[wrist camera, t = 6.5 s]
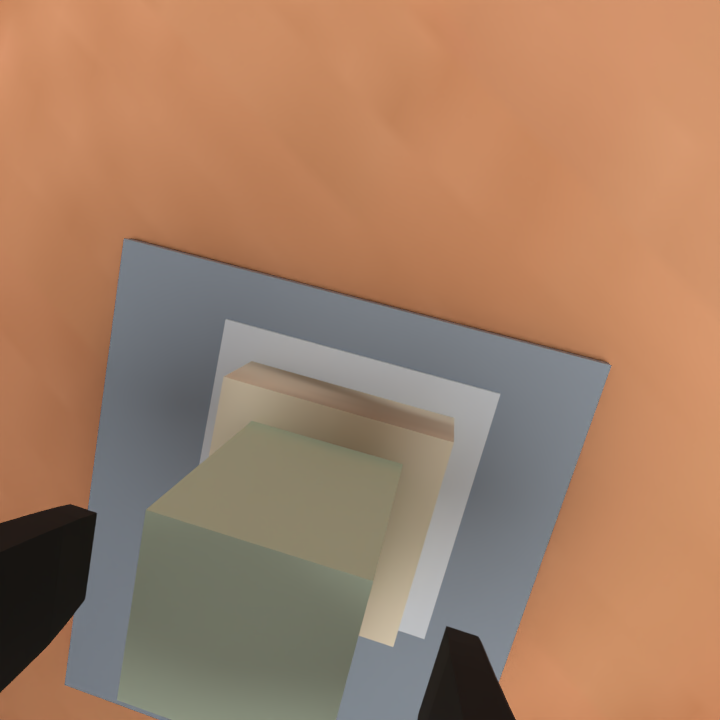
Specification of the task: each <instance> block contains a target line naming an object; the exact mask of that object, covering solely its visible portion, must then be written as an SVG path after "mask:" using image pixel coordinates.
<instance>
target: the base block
mask: <svg viewBox="0 0 720 720" xmlns="http://www.w3.org/2000/svg"><path fill="white" fill-rule="evenodd" d="M251 421H254V422H257V423H261V424H264V425H268V426H271V427H275V428H278V429H282V430H285V431H289V432H292V433H296V434H299V435H303V436H306V437H310V438H313V439H317V440H320V441H324V442H327V443H331V444H334V445H338V446H341V447H345V448H348V449H352V450H355V451H359V452H362V453H366V454H369V455H373V456H376V457H380V458H383V459H387V460H390V461H394V462H397V463H401V464H403V466H402V470H401V474H400V478H399V482H398V486H397V489H396V493H395V497H394V501H393V505H392V509H391V513H390V517H389V521H388V525H387V529H386V533H385V537H384V541H383V545H382V549H381V553H380V557H379V560H378V564H377V568H376V572H375V576H374V580H373V584H372V588H371V591H370V595H369V599H368V603H367V606H366V610H365V614H364V618H363V621H362V625H361V629H360V633H359V636H361V637H364V638H367V639H370V640H373V641H376V642H379V643H382V644H385V645H388V646H391V647H393V646H394V643H395V639H396V636H397V633H398V629H399V626H400V623H401V619H402V616H403V612H404V609H405V606H406V602H407V599H408V596H409V592H410V589H411V585H412V582H413V579H414V575H415V572H416V569H417V565H418V562H419V558H420V555H421V552H422V548H423V545H424V542H425V538H426V535H427V531H428V528H429V525H430V521H431V518H432V515H433V511H434V508H435V504H436V501H437V498H438V494H439V491H440V488H441V484H442V481H443V477H444V474H445V471H446V467H447V464H448V461H449V457H450V454H451V450H452V447H453V444H454V418H452V417H449V416H445V415H442V414H438V413H435V412H431V411H427V410H424V409H420V408H417V407H413V406H410V405H406V404H402V403H399V402H395V401H392V400H388V399H385V398H381V397H377V396H374V395H370V394H367V393H363V392H360V391H356V390H353V389H349V388H345V387H342V386H338V385H335V384H331V383H328V382H324V381H320V380H317V379H313V378H310V377H306V376H303V375H299V374H296V373H292V372H288V371H285V370H281V369H278V368H274V367H271V366H267V365H263V364H260V363H256V362H253V361H251V362H249V363H247V364H246V365H244V366H242V367H240V368H238V369H237V370H235V371H233V372H231V373H229V374H227V375H226V376H224V377H223V382H222V387H221V393H220V398H219V404H218V409H217V414H216V420H215V425H214V431H213V436H212V441H211V447H210V452H209V456H211V455H212V454H213V453H214V452H215V451H217V450H218V449H219V448H220V447H221V446H222V445H224V444H225V443H226V442H227V441H228V440H230V439H231V438H232V437H233V436H234V435H236V434H237V433H238V432H239V431H240V430H242V429H243V428H244V427H245V426H246V425H248V424H249V423H250V422H251Z"/></svg>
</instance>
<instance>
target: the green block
mask: <svg viewBox="0 0 720 720" xmlns="http://www.w3.org/2000/svg"><path fill="white" fill-rule="evenodd" d="M402 466H403V464H401V463H397V462H394V461H390V460H387V459H383V458H380V457H376V456H373V455H369V454H366V453H362V452H359V451H355V450H352V449H348V448H345V447H341V446H338V445H334V444H331V443H327V442H324V441H320V440H317V439H313V438H310V437H306V436H303V435H299V434H296V433H292V432H289V431H285V430H282V429H278V428H275V427H271V426H268V425H264V424H261V423H257V422H254V421H251V422H250V423H249V424H248V425H246V426H245V427H244V428H243V429H242V430H240V431H239V432H238V433H237V434H236V435H234V436H233V437H232V438H231V439H230V440H228V441H227V442H226V443H225V444H224V445H222V446H221V447H220V448H219V449H218V450H217V451H215V452H214V453H213V454H212V455H211V456H209V457H208V458H207V459H206V460H205V461H203V462H202V463H201V464H200V465H199V466H197V467H196V468H195V469H194V470H193V471H191V472H190V473H189V474H188V475H187V476H185V477H184V478H183V479H182V480H181V481H180V482H178V483H177V484H176V485H175V486H174V487H172V488H171V489H170V490H169V491H168V492H166V493H165V494H164V495H163V496H162V497H160V498H159V499H158V500H157V501H156V502H154V503H153V504H152V505H151V506H150V507H148V508H147V509H146V512H145V519H144V525H143V532H142V538H141V545H140V551H139V558H138V565H137V571H136V578H135V584H134V591H133V597H132V604H131V611H130V617H129V624H128V630H127V637H126V643H125V650H124V657H123V663H122V670H121V676H120V683H119V689H118V696H117V700H118V701H121V702H123V703H126V704H129V705H132V706H135V707H137V708H140V709H143V710H146V711H148V712H151V713H154V714H157V715H160V716H162V717H165V718H168V719H171V720H336V718H337V715H338V711H339V707H340V703H341V700H342V696H343V692H344V689H345V685H346V681H347V677H348V674H349V670H350V666H351V662H352V659H353V655H354V651H355V647H356V644H357V640H358V636H359V633H360V629H361V625H362V621H363V618H364V614H365V610H366V606H367V603H368V599H369V595H370V591H371V588H372V584H373V580H374V576H375V572H376V568H377V564H378V560H379V557H380V553H381V549H382V545H383V541H384V537H385V533H386V529H387V525H388V521H389V517H390V513H391V509H392V505H393V501H394V497H395V493H396V489H397V486H398V482H399V478H400V474H401V470H402Z"/></svg>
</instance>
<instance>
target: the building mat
mask: <svg viewBox="0 0 720 720" xmlns="http://www.w3.org/2000/svg"><path fill="white" fill-rule="evenodd" d="M251 361H253V362H256V363H260V364H263V365H267V366H271V367H274V368H278V369H281V370H285V371H288V372H292V373H296V374H299V375H303V376H306V377H310V378H313V379H317V380H320V381H324V382H328V383H331V384H335V385H338V386H342V387H345V388H349V389H353V390H356V391H360V392H363V393H367V394H370V395H374V396H377V397H381V398H385V399H388V400H392V401H395V402H399V403H402V404H406V405H410V406H413V407H417V408H420V409H424V410H427V411H431V412H435V413H438V414H442V415H445V416H449V417H452V418H454V444H453V447H452V450H451V454H450V457H449V461H448V464H447V467H446V471H445V474H444V477H443V481H442V484H441V488H440V491H439V494H438V498H437V501H436V504H435V508H434V511H433V515H432V518H431V521H430V525H429V528H428V531H427V535H426V538H425V542H424V545H423V548H422V552H421V555H420V558H419V562H418V565H417V569H416V572H415V575H414V579H413V582H412V585H411V589H410V592H409V596H408V599H407V602H406V606H405V609H404V612H403V616H402V619H401V623H400V626H399V629H398V633H397V636H396V639H395V643H394V646H393V647H391V646H388V645H385V644H382V643H379V642H376V641H373V640H370V639H367V638H364V637H361V636H358V640H357V644H356V647H355V651H354V655H353V659H352V662H351V666H350V670H349V674H348V677H347V681H346V685H345V689H344V692H343V696H342V700H341V703H340V707H339V711H338V715H337V718H336V720H417V719H418V713H419V710H420V707H421V704H422V701H423V698H424V694H425V691H426V688H427V685H428V682H429V679H430V676H431V673H432V669H433V666H434V663H435V660H436V657H437V654H438V651H439V647H440V644H441V641H442V638H443V635H444V632H445V629H446V626H448V627H451V628H454V629H457V630H460V631H464V632H467V633H470V634H473V635H476V636H479V638H480V640H481V642H482V644H483V646H484V649H485V651H486V654H487V656H488V658H489V661H490V663H491V666H492V668H493V670H494V673H495V675H496V677H497V680H498V682H499V680H500V677H501V674H502V671H503V669H504V666H505V663H506V660H507V657H508V655H509V652H510V649H511V646H512V643H513V641H514V638H515V635H516V632H517V629H518V626H519V624H520V621H521V618H522V615H523V612H524V610H525V607H526V604H527V601H528V598H529V596H530V593H531V590H532V587H533V584H534V582H535V579H536V576H537V573H538V570H539V567H540V565H541V562H542V559H543V556H544V553H545V551H546V548H547V545H548V542H549V539H550V537H551V534H552V531H553V528H554V525H555V523H556V520H557V517H558V514H559V511H560V508H561V506H562V503H563V500H564V497H565V494H566V492H567V489H568V486H569V483H570V480H571V478H572V475H573V472H574V469H575V466H576V464H577V461H578V458H579V455H580V452H581V449H582V447H583V444H584V441H585V438H586V435H587V433H588V430H589V427H590V424H591V421H592V419H593V416H594V413H595V410H596V407H597V405H598V402H599V399H600V396H601V393H602V390H603V388H604V385H605V382H606V379H607V376H608V374H609V371H610V368H611V365H610V364H609V363H607V362H604V361H600V360H596V359H592V358H588V357H585V356H581V355H577V354H573V353H569V352H565V351H561V350H558V349H554V348H550V347H546V346H542V345H538V344H535V343H531V342H527V341H523V340H519V339H515V338H511V337H508V336H504V335H500V334H496V333H492V332H488V331H485V330H481V329H477V328H473V327H469V326H465V325H462V324H458V323H454V322H450V321H446V320H442V319H438V318H435V317H431V316H427V315H423V314H419V313H415V312H412V311H408V310H404V309H400V308H396V307H392V306H388V305H385V304H381V303H377V302H373V301H369V300H365V299H362V298H358V297H354V296H350V295H346V294H342V293H339V292H335V291H331V290H327V289H323V288H319V287H315V286H312V285H308V284H304V283H300V282H296V281H292V280H289V279H285V278H281V277H277V276H273V275H269V274H265V273H262V272H258V271H254V270H250V269H246V268H242V267H239V266H235V265H231V264H227V263H223V262H219V261H216V260H212V259H208V258H204V257H200V256H196V255H192V254H189V253H185V252H181V251H177V250H173V249H169V248H166V247H162V246H158V245H154V244H150V243H146V242H142V241H139V240H135V239H125V238H124V242H123V249H122V257H121V264H120V272H119V279H118V287H117V294H116V302H115V309H114V317H113V324H112V332H111V339H110V347H109V355H108V362H107V370H106V377H105V385H104V392H103V400H102V407H101V415H100V422H99V430H98V437H97V445H96V452H95V460H94V467H93V475H92V483H91V490H90V498H89V505H88V510H90V511H93V512H96V513H97V519H96V526H95V533H94V540H93V547H92V555H91V562H90V569H89V576H88V583H87V590H86V597H85V600H84V602H83V603H82V604H81V606H80V607H79V608H78V609H77V611H76V612H75V613H74V618H73V626H72V633H71V641H70V648H69V656H68V663H67V671H66V678H65V685H67V686H69V687H72V688H75V689H77V690H80V691H83V692H86V693H88V694H91V695H94V696H96V697H99V698H102V699H105V700H107V701H110V702H113V703H115V704H118V705H121V706H124V707H126V708H129V709H132V710H134V711H137V712H140V713H142V714H145V715H148V716H151V717H153V718H156V719H159V720H171V719H168V718H165V717H162V716H160V715H157V714H154V713H151V712H148V711H146V710H143V709H140V708H137V707H135V706H132V705H129V704H126V703H123V702H121V701H118V700H117V696H118V689H119V683H120V676H121V670H122V663H123V657H124V650H125V643H126V637H127V630H128V624H129V617H130V611H131V604H132V597H133V591H134V584H135V578H136V571H137V565H138V558H139V551H140V545H141V538H142V532H143V525H144V519H145V512H146V509H147V508H148V507H150V506H151V505H152V504H153V503H154V502H156V501H157V500H158V499H159V498H160V497H162V496H163V495H164V494H165V493H166V492H168V491H169V490H170V489H171V488H172V487H174V486H175V485H176V484H177V483H178V482H180V481H181V480H182V479H183V478H184V477H185V476H187V475H188V474H189V473H190V472H191V471H193V470H194V469H195V468H196V467H197V466H199V465H200V464H201V463H202V462H203V461H205V460H206V459H207V458H208V457H209V452H210V447H211V441H212V436H213V431H214V425H215V420H216V414H217V409H218V404H219V398H220V393H221V387H222V382H223V377H224V376H226V375H227V374H229V373H231V372H233V371H235V370H237V369H238V368H240V367H242V366H244V365H246V364H247V363H249V362H251Z"/></svg>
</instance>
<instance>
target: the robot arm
mask: <svg viewBox="0 0 720 720" xmlns="http://www.w3.org/2000/svg"><path fill="white" fill-rule="evenodd" d="M96 519H97V513H96V512H93V511H90V510H86V509H83V508H80V507H77V506H74V505H71V504H69V505H65V506H60V507H56V508H52V509H48V510H44V511H41V512H37V513H34V514H30V515H27V516H23V517H20V518H17V519H13V520H10V521H6V522H3V523H0V692H1V691H2V690H3V689H4V688H5V687H6V686H7V685H9V684H10V683H11V682H12V681H13V680H14V679H15V678H16V677H17V676H18V675H19V674H20V673H21V672H22V671H23V670H24V669H25V668H26V667H27V666H28V665H29V664H30V663H31V662H32V661H33V660H34V659H35V658H36V657H37V656H38V655H39V654H40V653H41V652H42V651H43V650H44V649H45V648H46V647H47V646H48V645H49V644H50V643H51V641H52V640H53V639H54V638H55V637H56V635H57V634H58V633H59V632H60V631H61V629H62V628H63V627H64V626H65V625H66V623H67V622H68V621H69V620H70V618H71V617H72V616H73V615H74V613H75V612H76V611H77V609H78V608H79V607H80V606H81V604H82V603H83V602H84V600H85V597H86V590H87V583H88V576H89V569H90V562H91V555H92V547H93V540H94V533H95V526H96ZM417 720H516V719H515V717H514V715H513V713H512V711H511V709H510V707H509V705H508V702H507V700H506V698H505V696H504V693H503V691H502V689H501V687H500V684H499V682H498V680H497V677H496V675H495V673H494V670H493V668H492V666H491V663H490V661H489V658H488V656H487V654H486V651H485V649H484V646H483V644H482V642H481V640H480V638H479V636H476V635H473V634H470V633H467V632H464V631H460V630H457V629H454V628H451V627H448V626H446V629H445V632H444V635H443V638H442V641H441V644H440V647H439V651H438V654H437V657H436V660H435V663H434V666H433V669H432V673H431V676H430V679H429V682H428V685H427V688H426V691H425V694H424V698H423V701H422V704H421V707H420V710H419V713H418V719H417Z"/></svg>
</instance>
